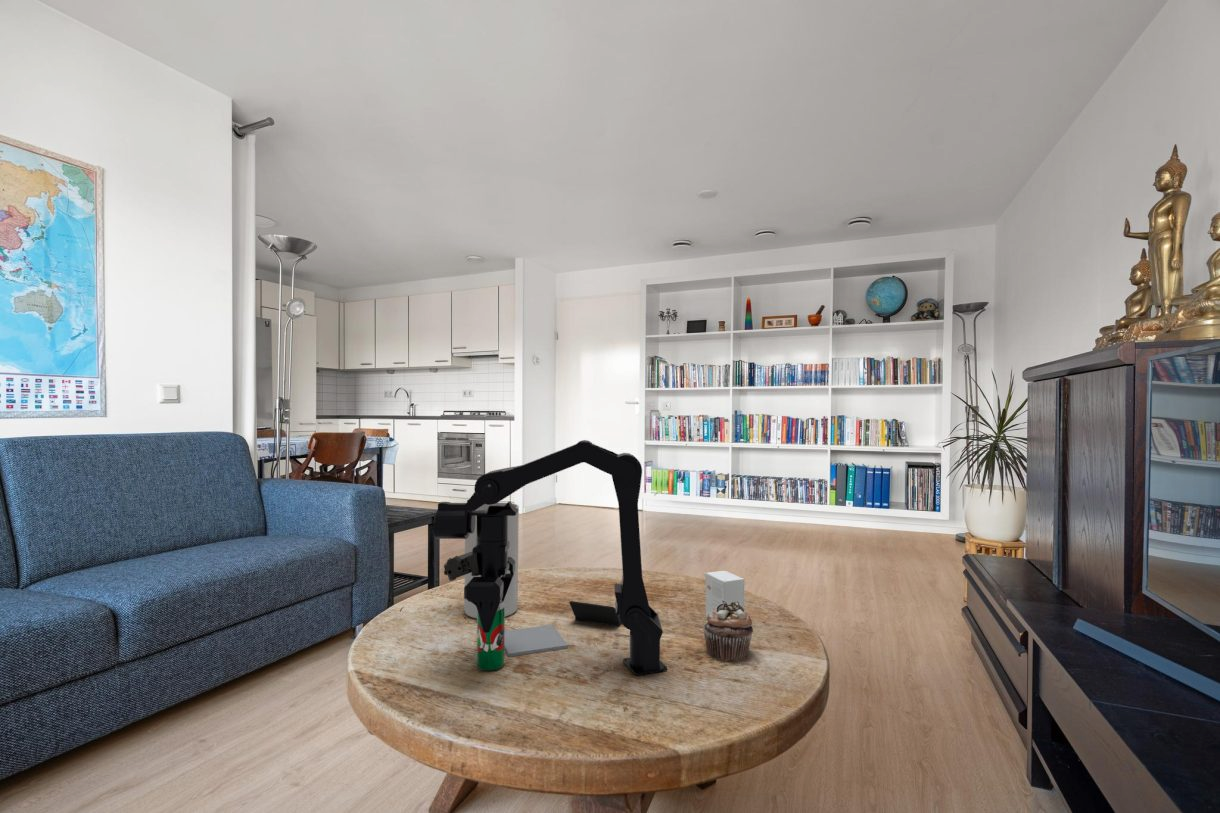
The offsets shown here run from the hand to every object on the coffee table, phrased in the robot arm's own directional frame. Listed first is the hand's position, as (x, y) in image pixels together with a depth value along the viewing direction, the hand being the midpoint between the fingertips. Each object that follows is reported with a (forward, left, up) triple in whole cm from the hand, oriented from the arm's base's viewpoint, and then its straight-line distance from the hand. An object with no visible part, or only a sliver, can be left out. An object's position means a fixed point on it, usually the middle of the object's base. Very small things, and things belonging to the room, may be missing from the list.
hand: (491, 622), depth 106 cm
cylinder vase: (+30, -5, -8) cm, 32 cm away
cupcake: (-10, -45, -8) cm, 47 cm away
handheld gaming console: (+15, -27, -9) cm, 32 cm away
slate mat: (+9, -10, -8) cm, 16 cm away
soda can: (0, 0, -8) cm, 8 cm away
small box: (+5, -54, -8) cm, 55 cm away
